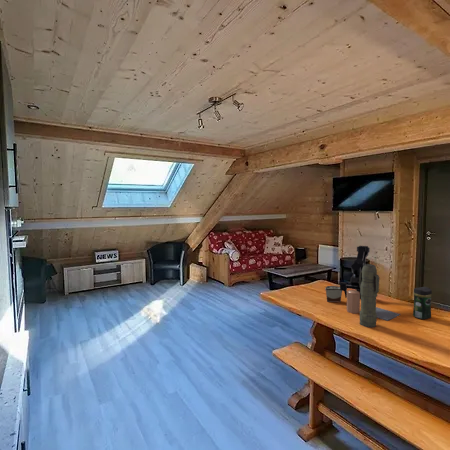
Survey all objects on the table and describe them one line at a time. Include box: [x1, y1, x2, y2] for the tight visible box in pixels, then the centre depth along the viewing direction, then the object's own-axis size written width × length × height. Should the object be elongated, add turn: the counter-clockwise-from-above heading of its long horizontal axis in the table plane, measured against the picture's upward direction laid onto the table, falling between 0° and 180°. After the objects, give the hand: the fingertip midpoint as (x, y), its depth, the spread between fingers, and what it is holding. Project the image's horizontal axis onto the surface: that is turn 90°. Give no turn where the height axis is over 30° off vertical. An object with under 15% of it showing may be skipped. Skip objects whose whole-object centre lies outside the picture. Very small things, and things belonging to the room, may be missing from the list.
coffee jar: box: [412, 286, 433, 320], centre depth 184 cm, size 10×8×19 cm
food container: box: [324, 285, 343, 303], centre depth 216 cm, size 12×6×10 cm, turn 84°
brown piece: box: [346, 289, 361, 314], centre depth 194 cm, size 7×7×13 cm
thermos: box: [359, 263, 380, 328], centre depth 173 cm, size 9×12×35 cm
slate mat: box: [376, 306, 401, 322], centre depth 190 cm, size 16×16×1 cm
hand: (353, 299), depth 194 cm, fingers open, 9 cm apart
